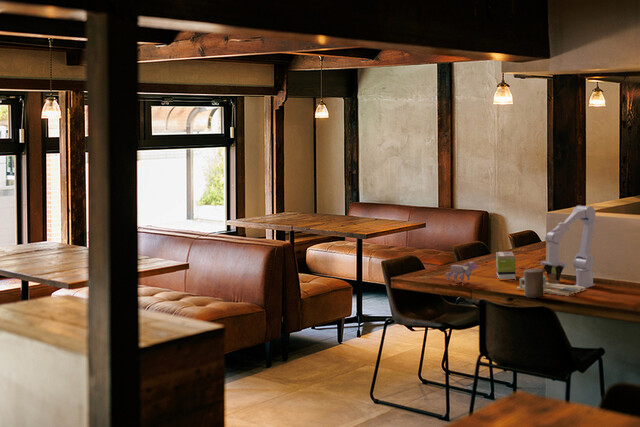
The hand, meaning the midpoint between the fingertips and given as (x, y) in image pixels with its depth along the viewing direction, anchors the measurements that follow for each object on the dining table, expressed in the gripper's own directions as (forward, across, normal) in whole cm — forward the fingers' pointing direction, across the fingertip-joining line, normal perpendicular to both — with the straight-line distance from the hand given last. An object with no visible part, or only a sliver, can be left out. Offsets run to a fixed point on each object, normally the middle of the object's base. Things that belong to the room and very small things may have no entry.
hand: (553, 279), depth 427 cm
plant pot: (+7, -12, +23) cm, 27 cm away
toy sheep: (+6, -50, -10) cm, 52 cm away
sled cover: (+5, -13, 0) cm, 13 cm away
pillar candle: (+7, -3, -16) cm, 18 cm away
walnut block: (+2, 0, 0) cm, 2 cm away
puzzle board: (+6, -3, +2) cm, 7 cm away
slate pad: (+5, +8, +1) cm, 9 cm away
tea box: (+7, -40, +18) cm, 44 cm away
